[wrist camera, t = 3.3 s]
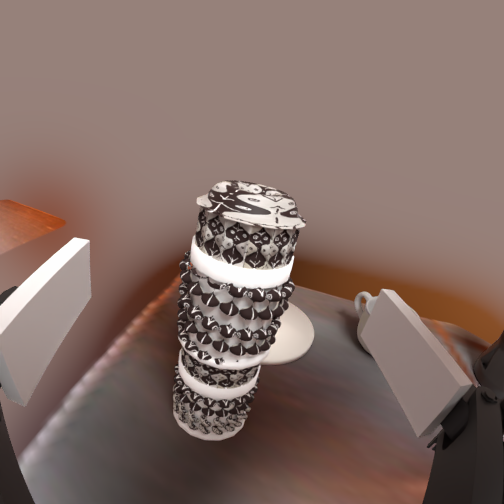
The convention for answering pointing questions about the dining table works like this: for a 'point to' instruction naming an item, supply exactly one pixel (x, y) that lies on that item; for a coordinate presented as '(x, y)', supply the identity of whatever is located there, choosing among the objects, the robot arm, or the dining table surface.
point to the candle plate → (290, 337)
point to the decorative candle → (231, 303)
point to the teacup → (366, 313)
